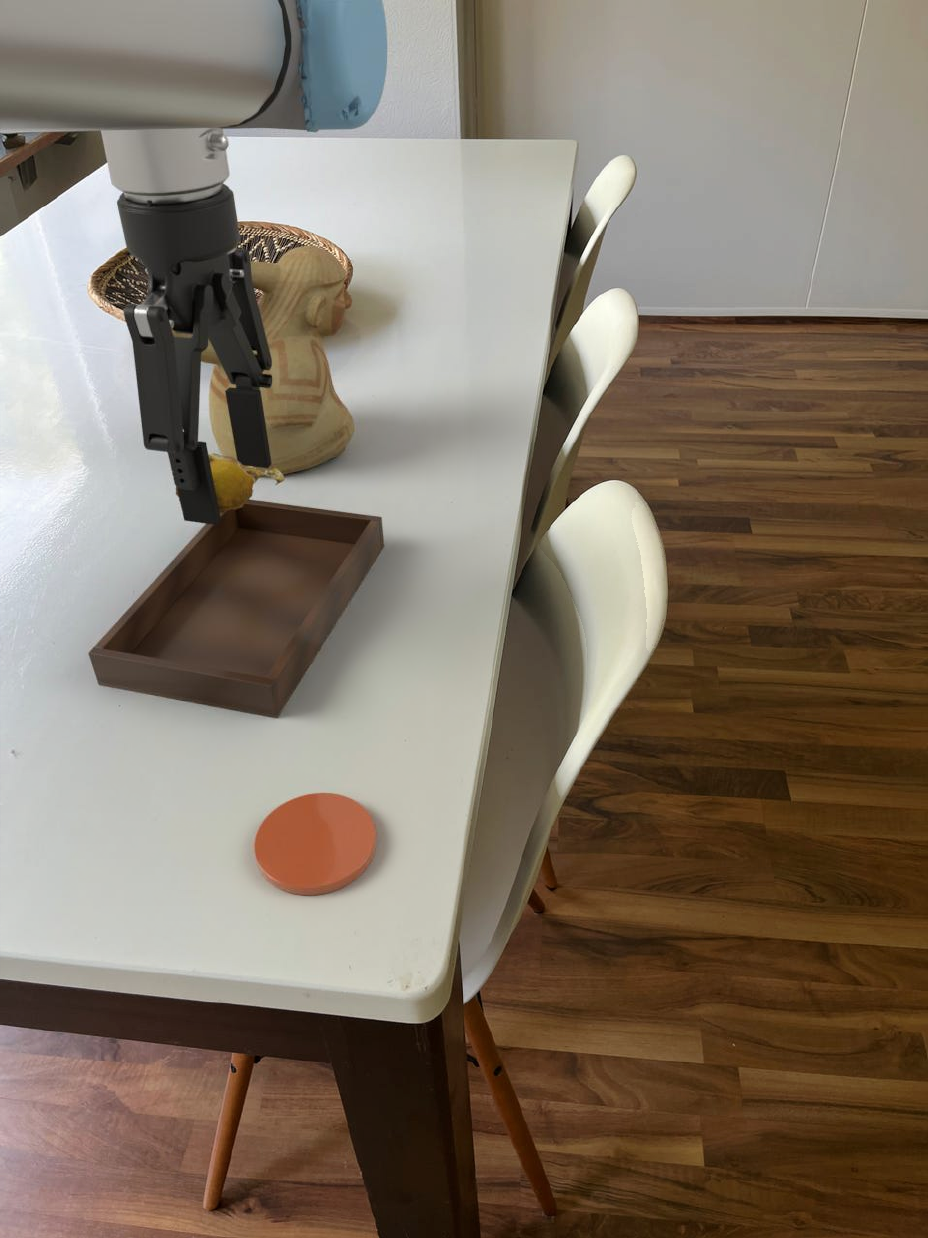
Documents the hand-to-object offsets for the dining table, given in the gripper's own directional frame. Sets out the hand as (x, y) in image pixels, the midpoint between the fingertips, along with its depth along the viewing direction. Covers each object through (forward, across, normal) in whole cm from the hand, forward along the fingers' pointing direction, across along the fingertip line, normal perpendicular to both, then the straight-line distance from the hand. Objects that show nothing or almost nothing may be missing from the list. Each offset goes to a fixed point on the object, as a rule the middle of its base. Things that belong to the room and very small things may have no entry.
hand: (229, 490), depth 78 cm
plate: (+13, -22, -15) cm, 30 cm away
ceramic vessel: (+12, +29, +10) cm, 33 cm away
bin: (+12, +1, 0) cm, 12 cm away
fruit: (0, +1, 0) cm, 1 cm away
